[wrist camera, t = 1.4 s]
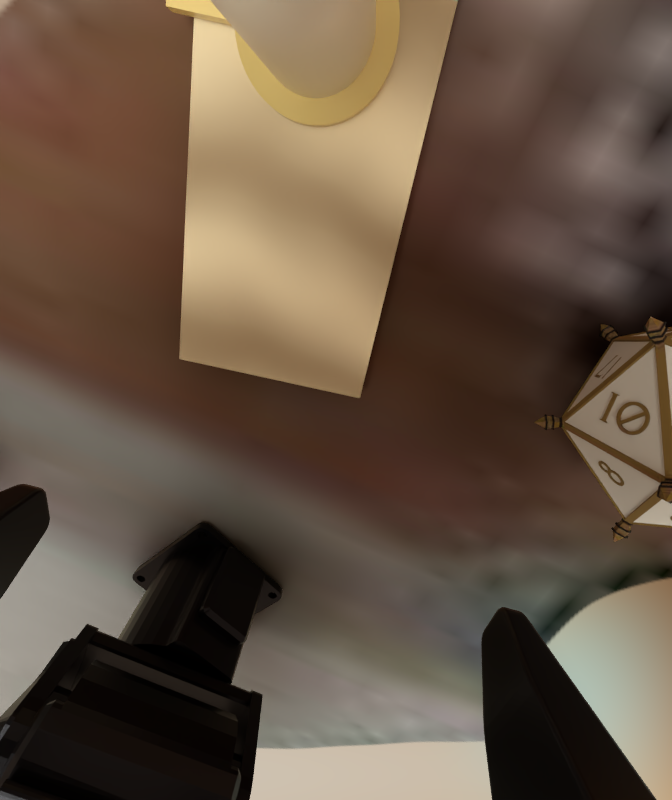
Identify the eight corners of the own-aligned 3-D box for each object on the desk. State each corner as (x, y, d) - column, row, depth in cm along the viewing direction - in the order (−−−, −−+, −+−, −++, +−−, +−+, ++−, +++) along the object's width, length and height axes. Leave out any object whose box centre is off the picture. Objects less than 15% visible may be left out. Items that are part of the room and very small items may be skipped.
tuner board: (360, 389, 20) (359, 398, 19) (188, 351, 20) (179, 358, 19) (502, -191, 12) (513, -223, 11) (220, -255, 12) (207, -292, 11)
